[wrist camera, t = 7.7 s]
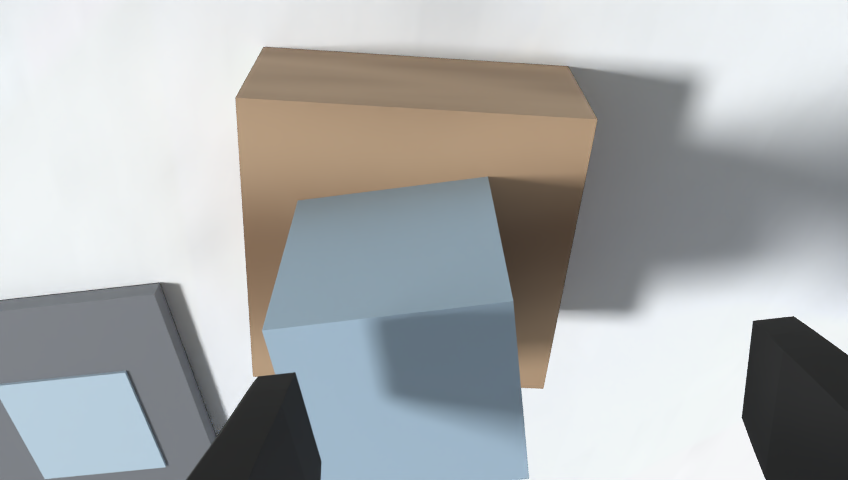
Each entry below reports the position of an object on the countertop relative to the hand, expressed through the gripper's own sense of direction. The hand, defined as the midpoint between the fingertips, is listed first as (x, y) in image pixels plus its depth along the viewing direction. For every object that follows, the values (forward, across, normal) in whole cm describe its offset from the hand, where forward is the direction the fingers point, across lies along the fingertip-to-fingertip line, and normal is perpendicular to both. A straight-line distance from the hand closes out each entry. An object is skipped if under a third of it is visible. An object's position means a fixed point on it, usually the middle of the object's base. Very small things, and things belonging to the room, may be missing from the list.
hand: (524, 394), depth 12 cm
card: (+10, +14, +8) cm, 20 cm away
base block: (+11, +2, +2) cm, 11 cm away
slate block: (+7, +2, +2) cm, 7 cm away
